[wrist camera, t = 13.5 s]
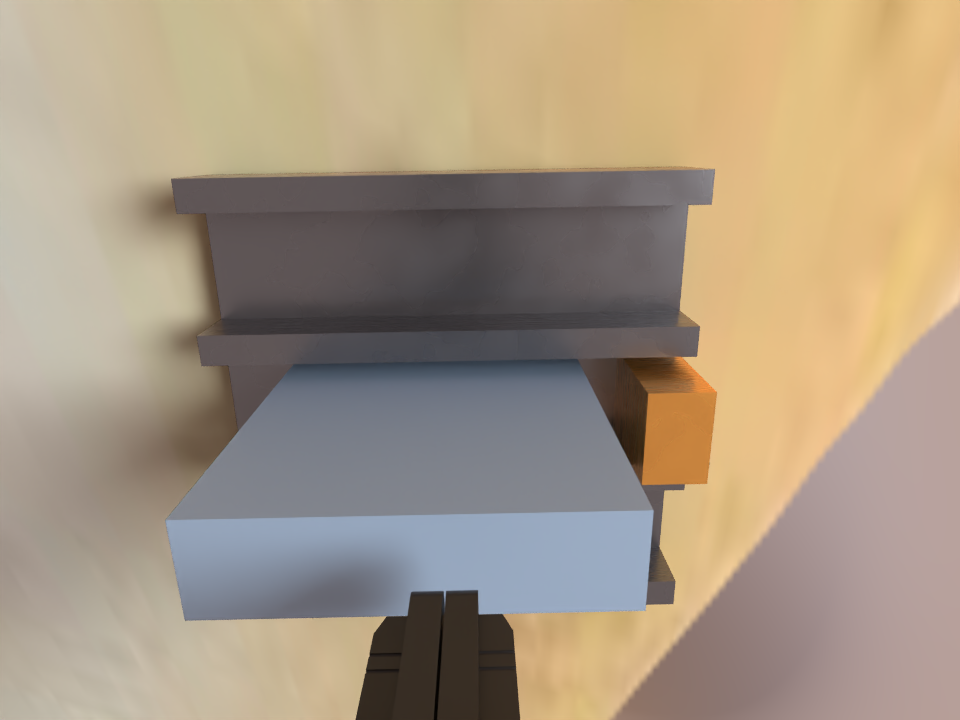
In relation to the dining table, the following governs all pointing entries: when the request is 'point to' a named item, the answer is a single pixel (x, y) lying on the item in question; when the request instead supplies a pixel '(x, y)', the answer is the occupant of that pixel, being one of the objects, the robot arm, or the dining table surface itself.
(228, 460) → the panel
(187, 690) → the dining table surface
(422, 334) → the rack
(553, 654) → the dining table surface
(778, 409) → the dining table surface
